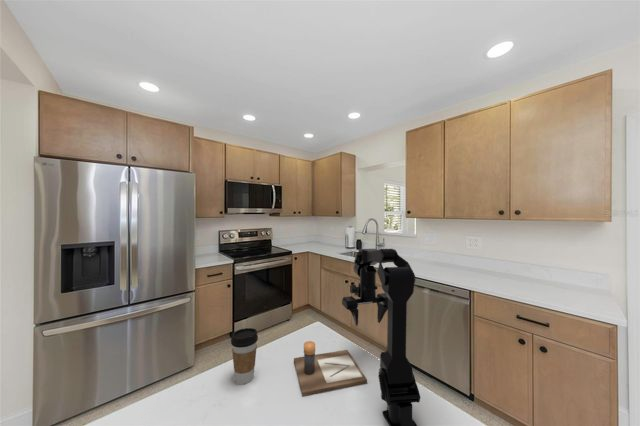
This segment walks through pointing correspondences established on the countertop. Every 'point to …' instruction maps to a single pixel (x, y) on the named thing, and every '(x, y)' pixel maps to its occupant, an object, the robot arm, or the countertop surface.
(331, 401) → the countertop surface
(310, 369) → the black and orange cylinder
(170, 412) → the countertop surface
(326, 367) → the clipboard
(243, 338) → the coffee cup
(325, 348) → the countertop surface
